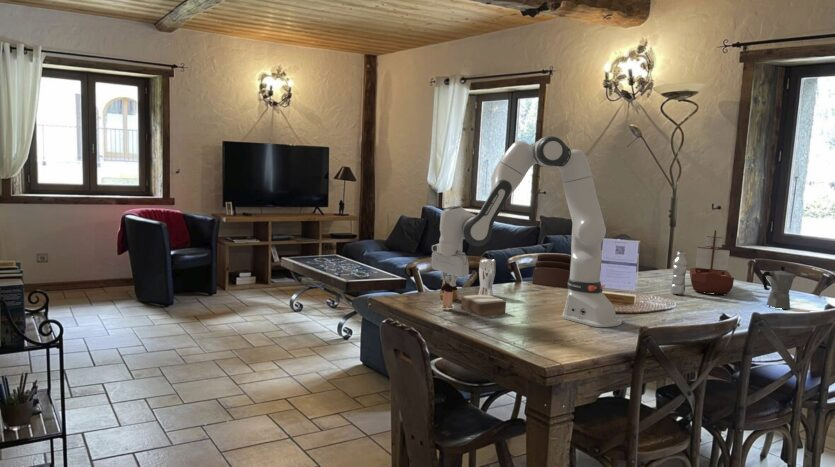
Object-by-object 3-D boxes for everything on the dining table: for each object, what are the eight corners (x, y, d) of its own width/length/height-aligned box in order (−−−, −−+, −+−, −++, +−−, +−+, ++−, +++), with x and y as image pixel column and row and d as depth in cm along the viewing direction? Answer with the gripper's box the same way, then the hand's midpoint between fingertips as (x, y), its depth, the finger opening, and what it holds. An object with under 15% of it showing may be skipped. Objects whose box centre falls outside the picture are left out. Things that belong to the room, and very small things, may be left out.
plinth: (505, 313, 244) (506, 300, 243) (479, 316, 238) (480, 302, 237) (485, 306, 254) (486, 293, 253) (461, 308, 248) (461, 296, 247)
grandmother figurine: (441, 309, 242) (443, 276, 240) (437, 306, 245) (438, 274, 243) (459, 307, 245) (461, 275, 243) (454, 305, 249) (456, 273, 247)
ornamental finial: (447, 301, 259) (435, 298, 265) (461, 300, 263) (449, 296, 269) (448, 282, 258) (436, 278, 264) (462, 280, 262) (450, 277, 268)
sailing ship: (690, 294, 298) (696, 231, 295) (687, 280, 335) (693, 224, 332) (732, 299, 292) (739, 235, 288) (725, 284, 329) (731, 227, 325)
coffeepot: (786, 305, 283) (791, 265, 281) (799, 310, 274) (804, 269, 272) (752, 304, 283) (756, 263, 281) (764, 309, 273) (769, 267, 271)
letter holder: (535, 280, 314) (537, 252, 312) (577, 285, 307) (579, 256, 305) (532, 284, 305) (534, 255, 303) (574, 289, 298) (577, 259, 296)
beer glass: (493, 297, 271) (495, 262, 269) (476, 295, 272) (478, 260, 271) (494, 293, 278) (496, 259, 276) (478, 292, 279) (480, 258, 277)
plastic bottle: (685, 294, 297) (690, 251, 295) (683, 296, 291) (687, 253, 289) (671, 292, 301) (675, 250, 298) (668, 294, 295) (672, 251, 292)
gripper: (473, 252, 235) (472, 289, 237) (442, 245, 253) (441, 279, 254) (459, 253, 232) (458, 291, 234) (429, 245, 249) (427, 280, 251)
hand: (449, 284), depth 244 cm, fingers closed on grandmother figurine, 3 cm apart
